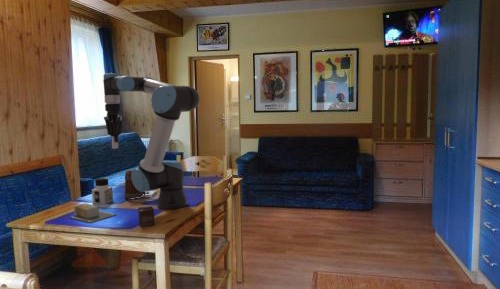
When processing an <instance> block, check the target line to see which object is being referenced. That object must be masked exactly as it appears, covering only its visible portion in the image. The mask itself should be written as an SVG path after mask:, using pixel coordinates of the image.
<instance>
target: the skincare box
mask: <svg viewBox="0 0 500 289" xmlns="http://www.w3.org/2000/svg"><path fill="white" fill-rule="evenodd" d="M73 211H74V213H73V214H74V215H78V216H81V217H84V218H91V217H95V216H99V211H100V210H99V207H98V206H96V205H92V204H89V203H87V202H86V203H81V204H76V205H73Z"/></svg>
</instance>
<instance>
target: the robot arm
mask: <svg viewBox="0 0 500 289" xmlns="http://www.w3.org/2000/svg"><path fill="white" fill-rule="evenodd" d="M102 81H103V82H102V83H103V92H104V103H105V105H104V106H105V107H104V110H105V112H106V116H103V120H104V121H105V125H106V126H105V127H106V131H107V135H109V136H110V139H111V140H110V141H111V148H112V150H113V149H119V135H122V129H123V128H122V126H123V120H124V117H123V116H121V114H120V111H121V109H122V108H121V104H120V102H121V94H120V92H141V93H146V94H150V95H151V98H150V103H151V105H150V106H151V107H152V109H153V112H154V115H155V120H154V121H153V125H152V130H151V133H150V137H149V141H148V144H147V147H146V152H145V155H144V158H143V159H141V160H140V162H139V165H138V167H135V168H134V169H132V174H131V178H132V182H133V185H134V186H135V188H136V189H137V190H138V191H140V192H145V193H146V192H150V191H153V190H157V189H159V194H158V195H159V196H158V200H157V202H156V204H157V206H156V207H157V208H159V209H161V210H162V209H163V210H174V209H176V210H177V209H182V208H183V207H187V206H188V199H187V197H186V195H185V194H186V193H185V191H184V175H183V173H184V170H183V164H182V162H180V161H178V160H177V161H174V160H164V159H165V156H166V152H167V148H168V147H169V142H170V138H171V135H172V132H173V129H174V126H175V122H176V121H178V120H179V119H180V117H181V114H182V113H183V112H191V111H193V110H195V109H196V108H197V107H198V105H199V103H200V94H199V92H198V91H197V89H195V88H194V87H193V86H188V85H175V84H170V83H167V82H163V81H159V80H156V79H154V78H153V77H148V76H145V77H144V76H143V77H142V76H130V75H121V76H119V74H118V73H115V72H114V73H112V72H109V73H104V74H103V80H102Z"/></svg>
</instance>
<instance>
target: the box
mask: <svg viewBox="0 0 500 289" xmlns="http://www.w3.org/2000/svg"><path fill="white" fill-rule="evenodd" d="M137 214H138V224H139V227H140V228H146V227H153V226H155V225H156V224H155V223H156V222H155V220H156V219H155V209H154V207H153V206H151V205H150V206H149V205H148V206H142V207H141V206H140V207H138V208H137Z"/></svg>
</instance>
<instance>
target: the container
mask: <svg viewBox="0 0 500 289" xmlns="http://www.w3.org/2000/svg"><path fill="white" fill-rule="evenodd" d="M94 184H95V188H93V189H91V195H92V196H91V197H92V199H91V200H92V204H98V205H99V204H101V205H103V204H104V205H106V204H108V203H112V201H114V194H113V193H114V192H113V186H109V178H107V177H100V178H99V177H98V178H96V179H95V180H94Z"/></svg>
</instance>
